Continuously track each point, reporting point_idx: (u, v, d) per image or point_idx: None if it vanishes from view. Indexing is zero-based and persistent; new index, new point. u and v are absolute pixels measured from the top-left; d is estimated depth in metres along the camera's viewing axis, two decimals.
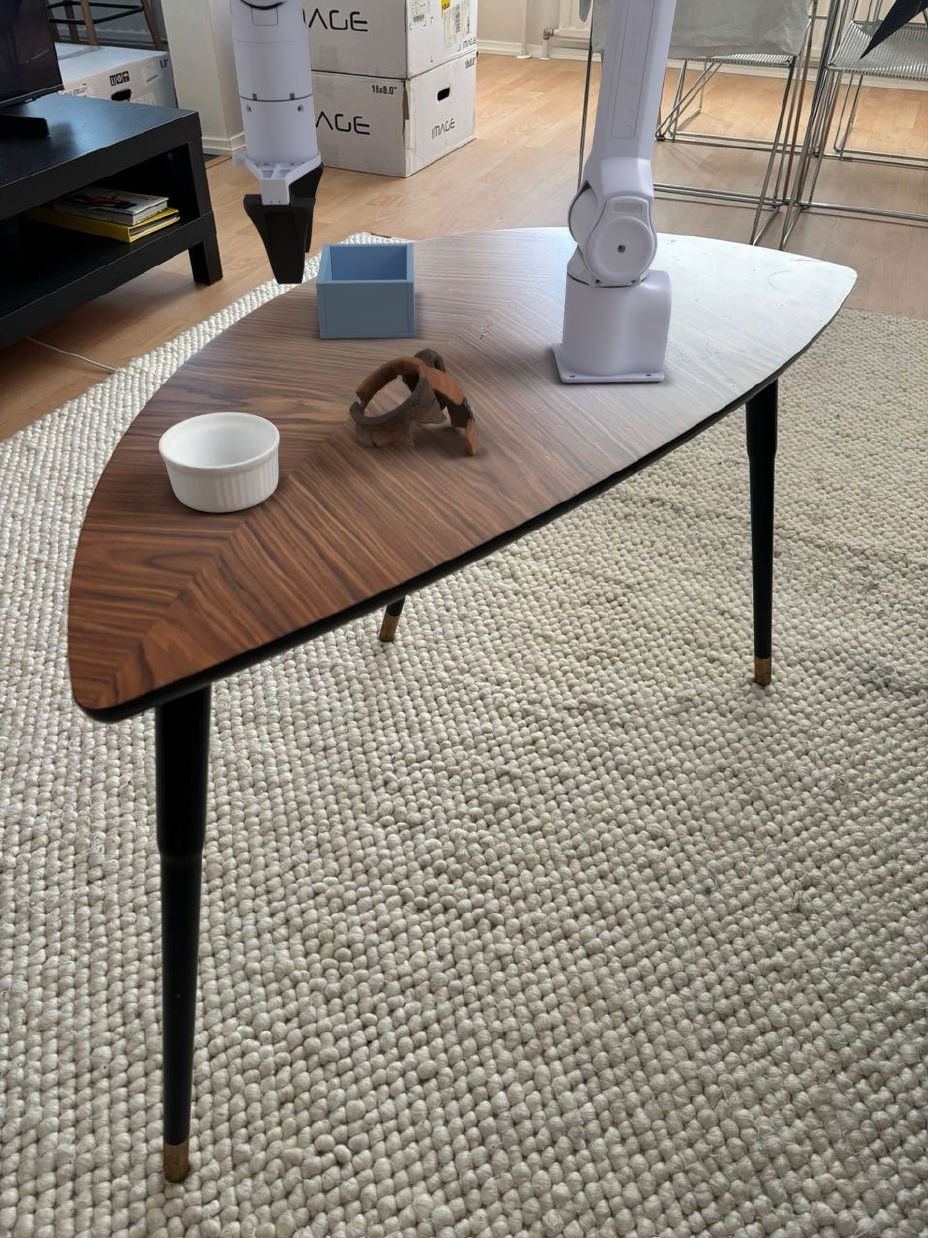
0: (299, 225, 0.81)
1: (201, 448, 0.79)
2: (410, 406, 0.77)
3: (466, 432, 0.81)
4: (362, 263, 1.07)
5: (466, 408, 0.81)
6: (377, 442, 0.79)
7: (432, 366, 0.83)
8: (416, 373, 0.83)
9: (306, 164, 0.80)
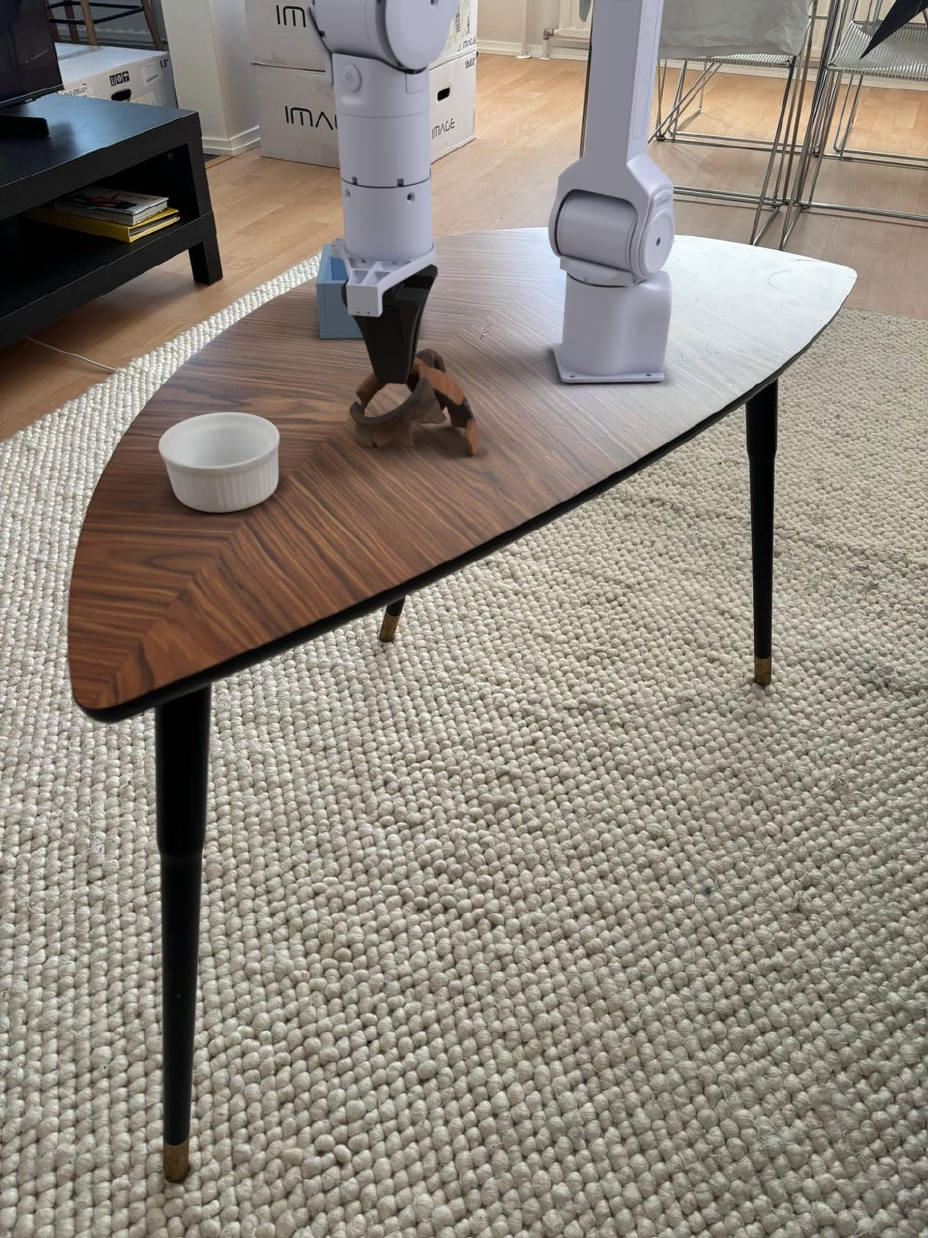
0: (404, 321, 0.67)
1: (201, 448, 0.79)
2: (410, 406, 0.77)
3: (466, 432, 0.81)
4: None
5: (466, 408, 0.81)
6: (377, 442, 0.79)
7: (432, 366, 0.83)
8: (416, 373, 0.83)
9: (412, 264, 0.64)
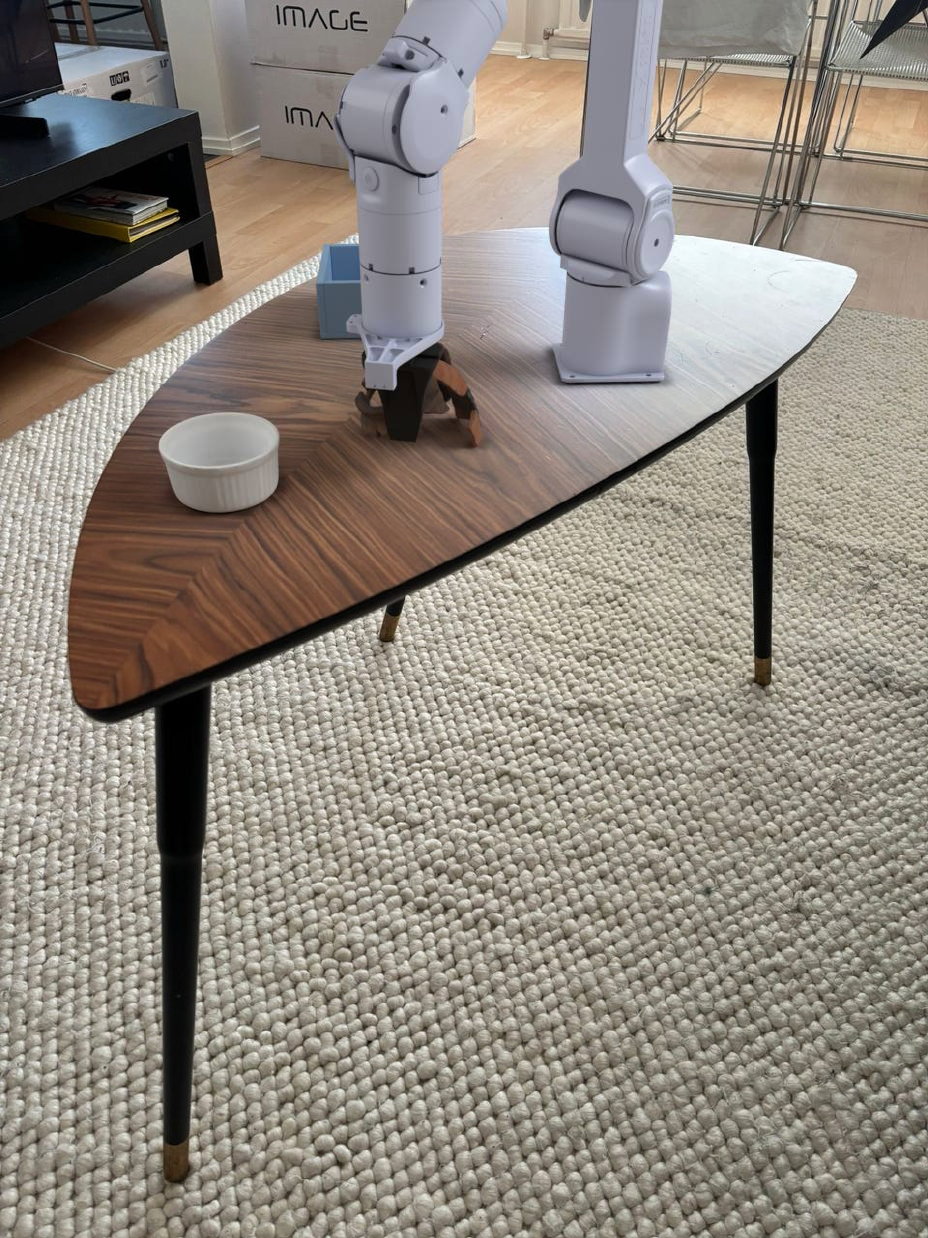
0: (418, 384, 0.75)
1: (201, 449, 0.79)
2: None
3: (469, 423, 0.82)
4: None
5: (469, 399, 0.82)
6: (381, 431, 0.80)
7: None
8: None
9: (423, 342, 0.71)
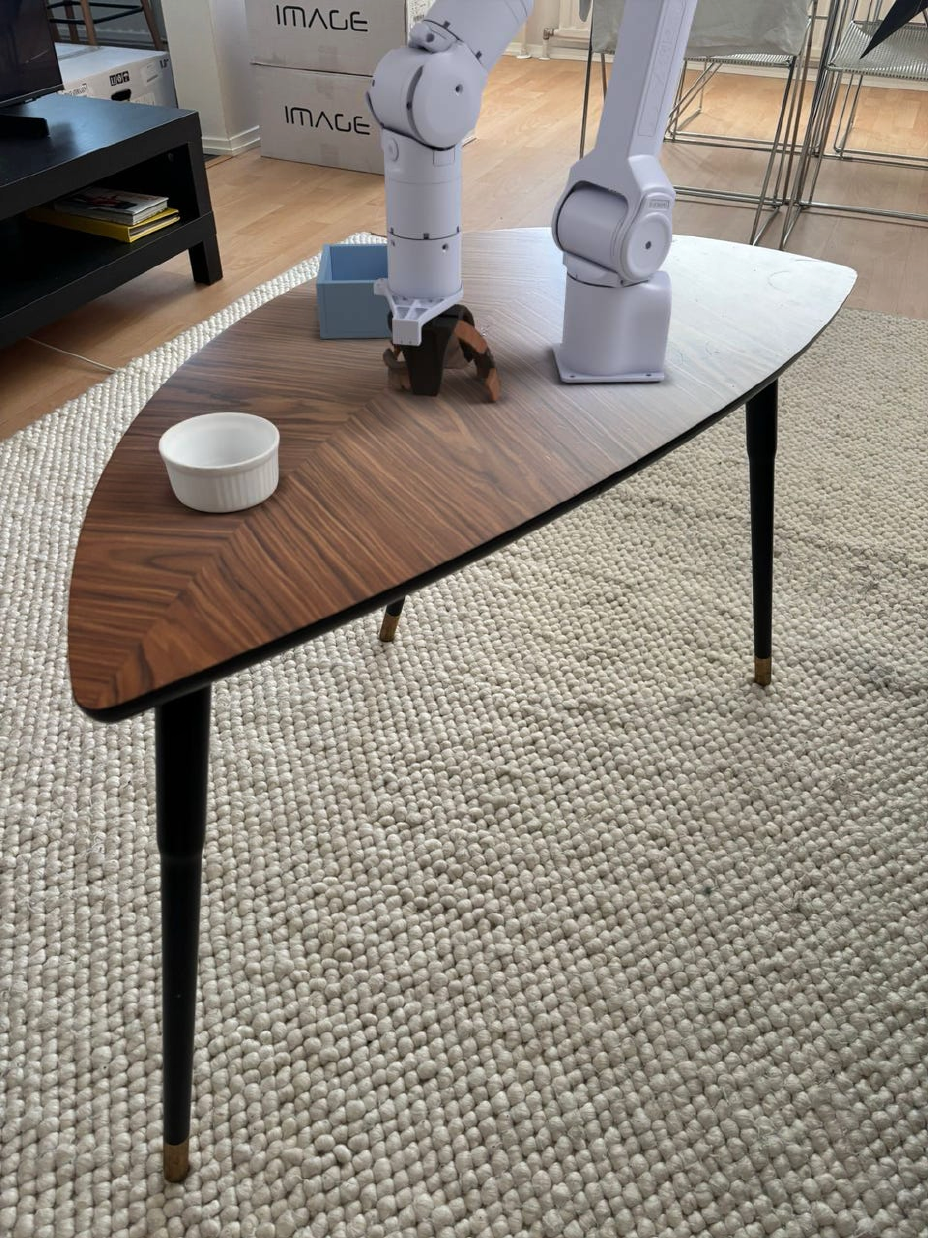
0: (439, 343, 0.81)
1: (201, 449, 0.79)
2: None
3: (487, 380, 0.89)
4: (362, 263, 1.07)
5: (488, 357, 0.88)
6: (405, 385, 0.87)
7: (461, 319, 0.91)
8: None
9: (445, 302, 0.77)
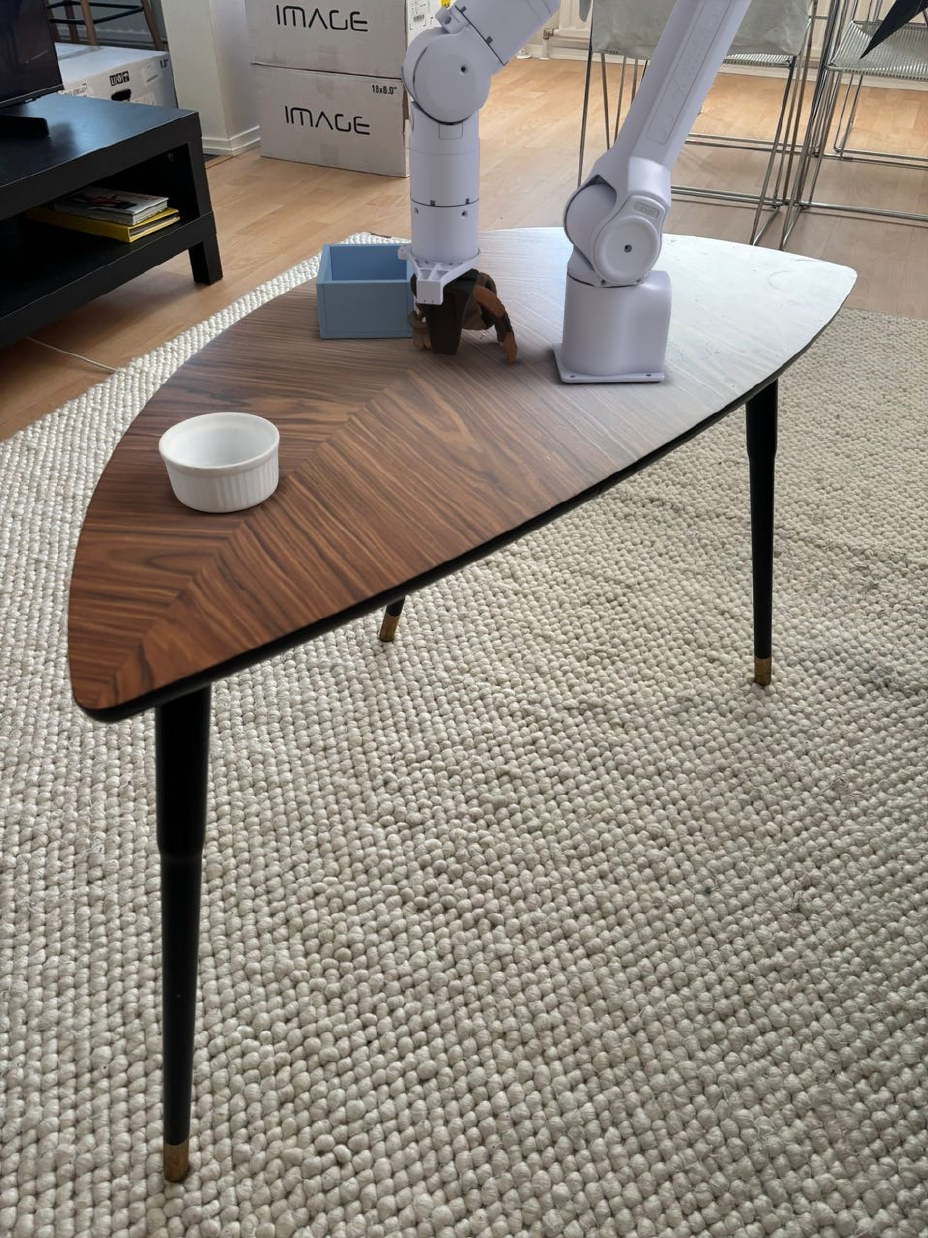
0: (458, 304, 0.88)
1: (201, 449, 0.79)
2: None
3: (504, 342, 0.95)
4: (362, 263, 1.07)
5: (506, 321, 0.95)
6: (426, 343, 0.94)
7: (482, 286, 0.97)
8: None
9: (464, 265, 0.84)
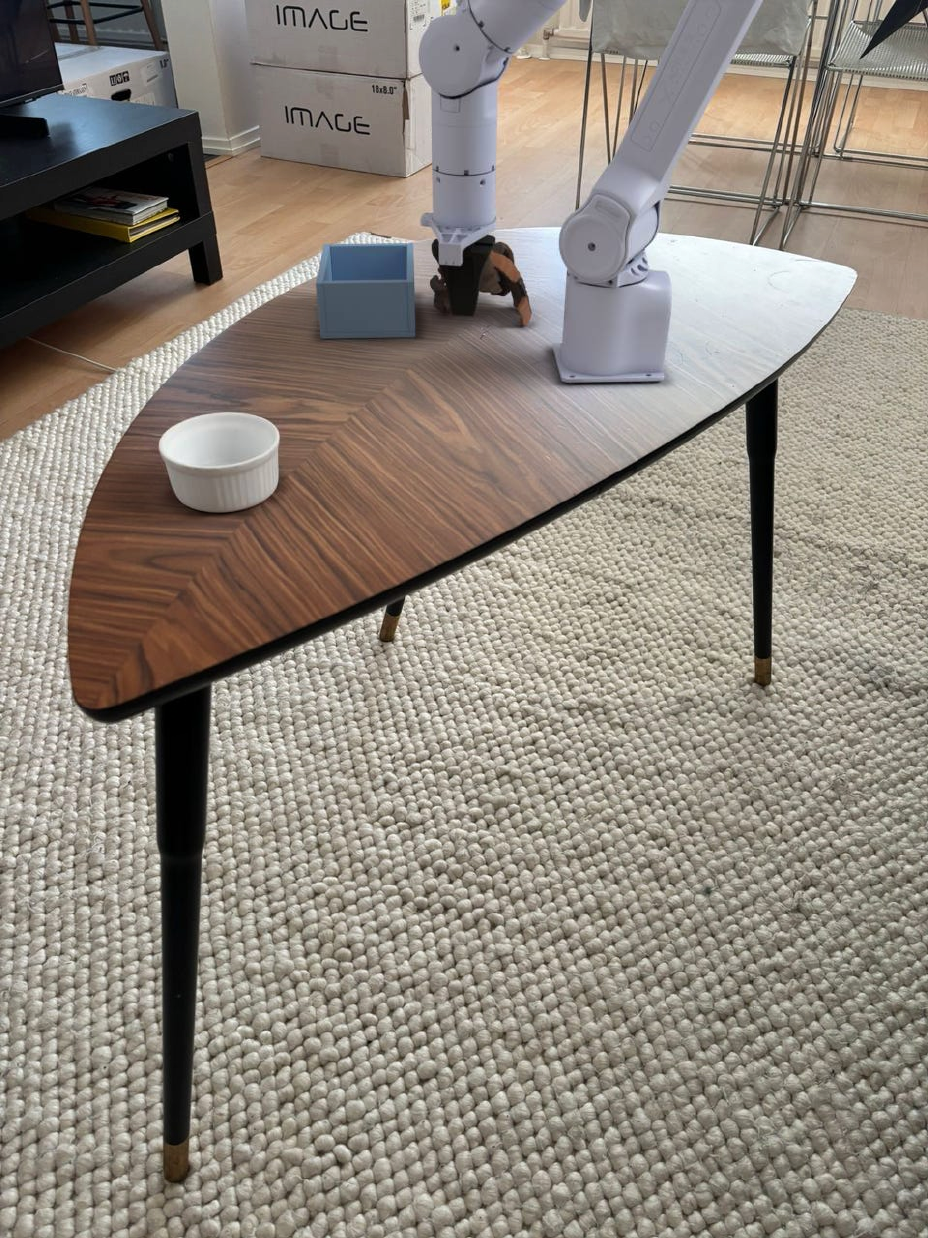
0: (476, 268, 0.95)
1: (201, 448, 0.79)
2: None
3: (519, 306, 1.02)
4: (362, 263, 1.07)
5: (521, 286, 1.02)
6: (446, 305, 1.01)
7: (500, 254, 1.04)
8: None
9: (482, 230, 0.91)
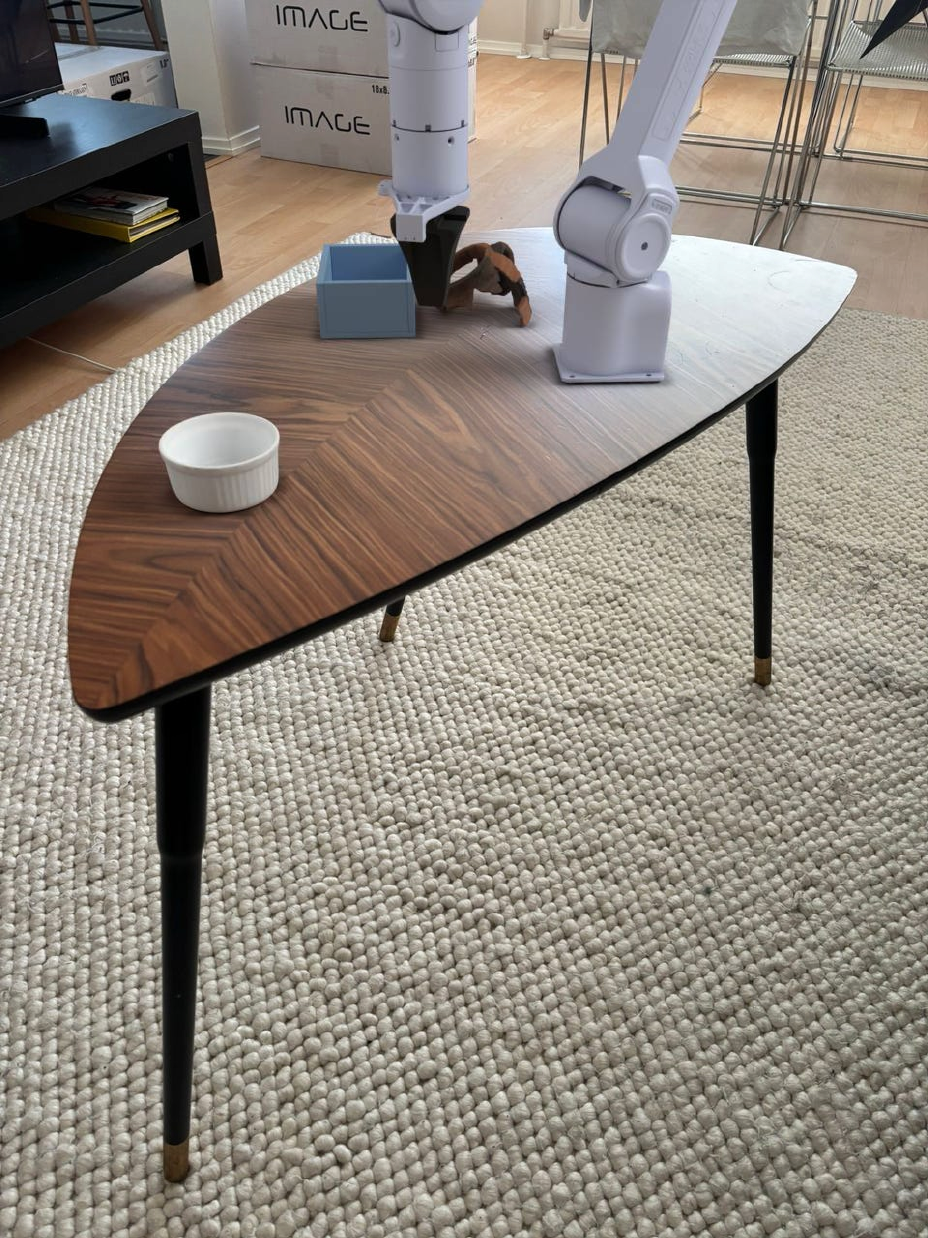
0: (444, 248, 0.78)
1: (201, 448, 0.79)
2: (473, 276, 0.99)
3: (519, 305, 1.02)
4: (362, 263, 1.07)
5: (521, 286, 1.02)
6: (446, 305, 1.01)
7: (501, 254, 1.04)
8: None
9: (450, 200, 0.75)
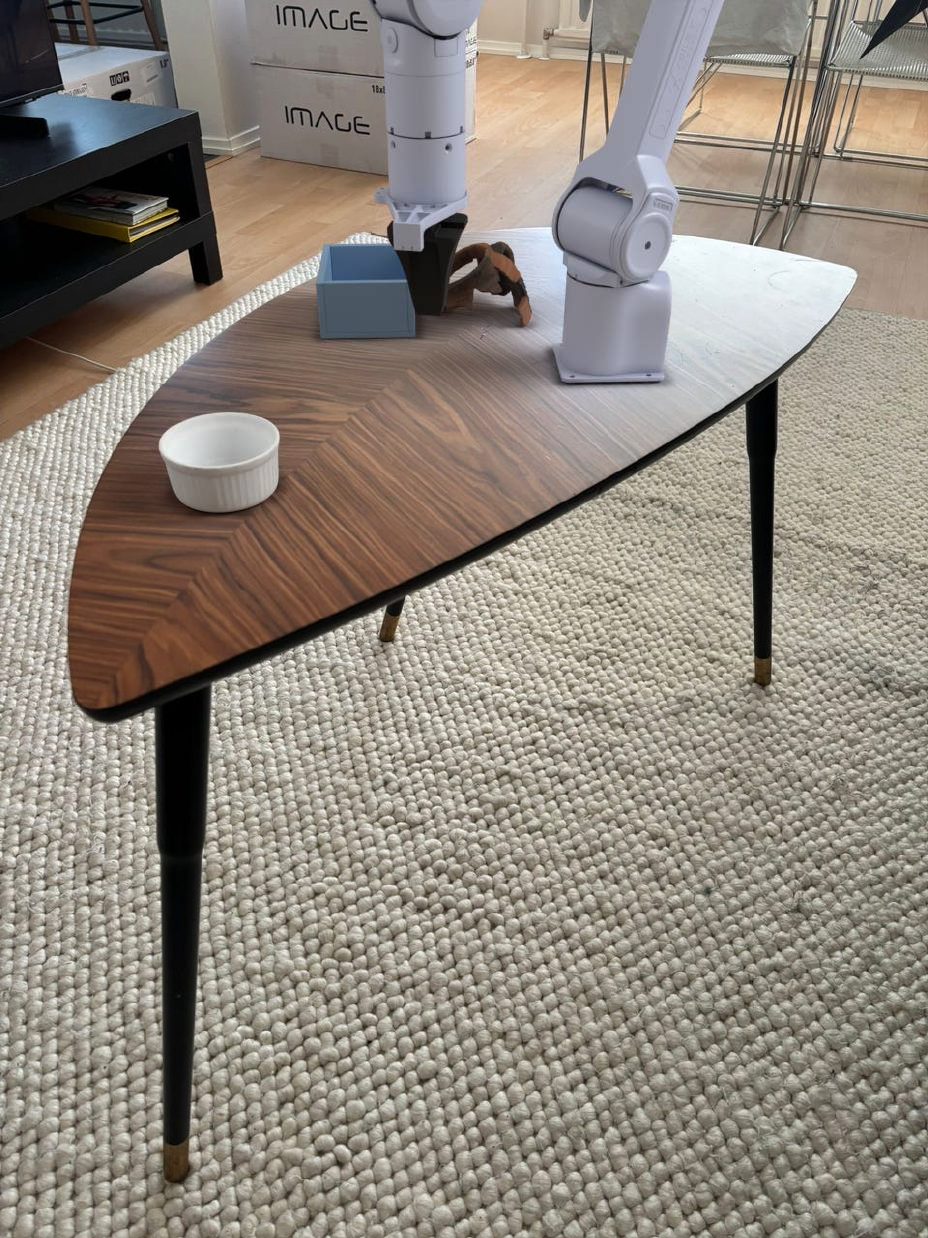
0: (442, 257, 0.77)
1: (201, 448, 0.79)
2: (473, 276, 0.99)
3: (519, 305, 1.02)
4: (362, 263, 1.07)
5: (521, 286, 1.02)
6: (446, 305, 1.01)
7: (501, 254, 1.04)
8: None
9: (448, 207, 0.74)
